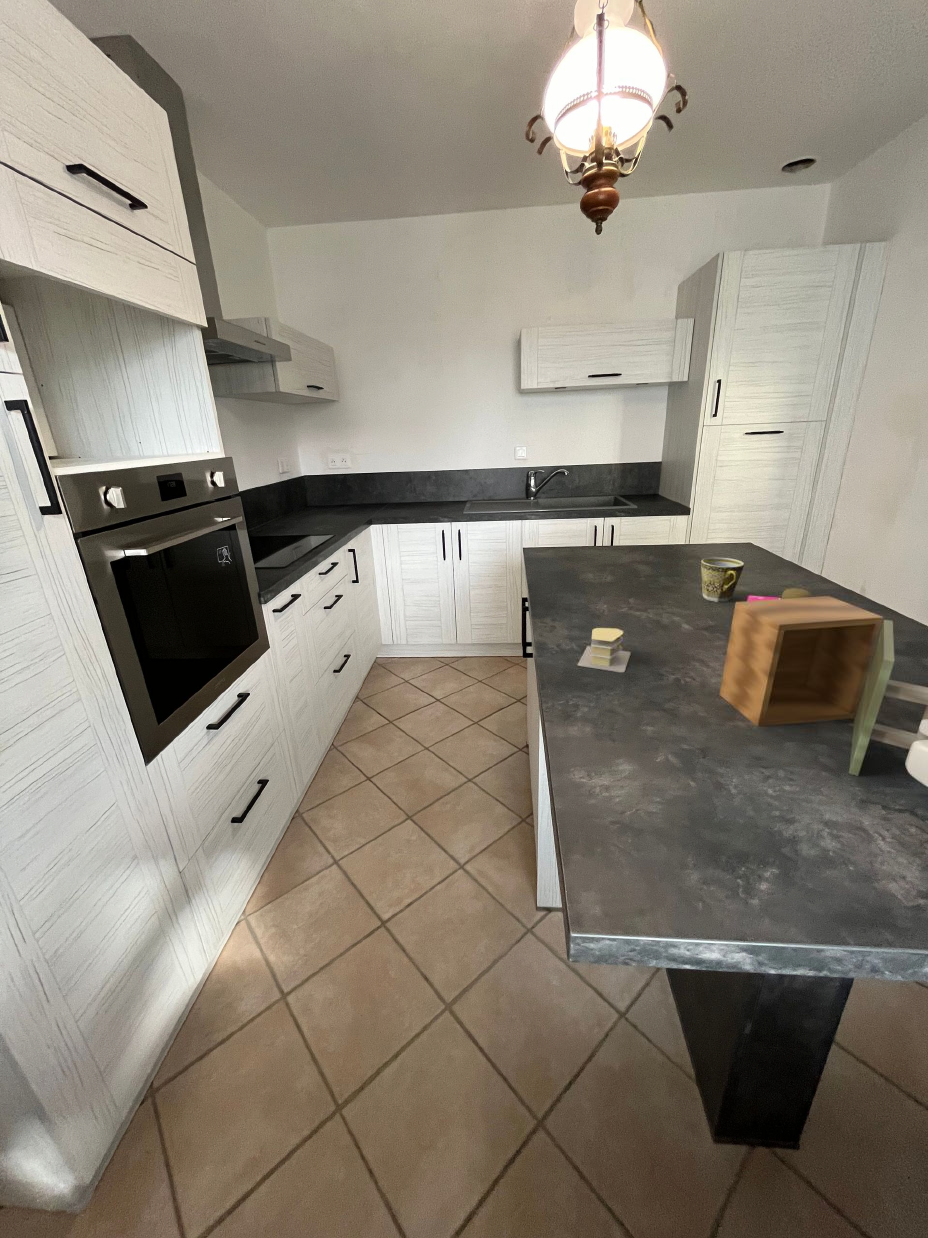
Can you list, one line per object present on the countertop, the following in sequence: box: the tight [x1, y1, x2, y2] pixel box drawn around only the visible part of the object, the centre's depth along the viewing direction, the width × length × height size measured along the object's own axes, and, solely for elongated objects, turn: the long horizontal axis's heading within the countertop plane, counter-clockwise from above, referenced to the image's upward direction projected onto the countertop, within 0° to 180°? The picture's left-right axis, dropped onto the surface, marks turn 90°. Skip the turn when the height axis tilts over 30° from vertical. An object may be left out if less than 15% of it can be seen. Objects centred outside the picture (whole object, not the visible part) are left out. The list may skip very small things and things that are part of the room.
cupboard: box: [719, 595, 885, 727], centre depth 77 cm, size 10×16×17 cm, turn 96°
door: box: [848, 619, 928, 777], centre depth 65 cm, size 7×16×17 cm, turn 141°
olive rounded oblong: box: [781, 587, 813, 599], centre depth 103 cm, size 6×6×11 cm
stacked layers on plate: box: [577, 627, 632, 673], centre depth 98 cm, size 10×9×6 cm
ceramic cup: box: [700, 557, 745, 603], centre depth 127 cm, size 13×10×10 cm
